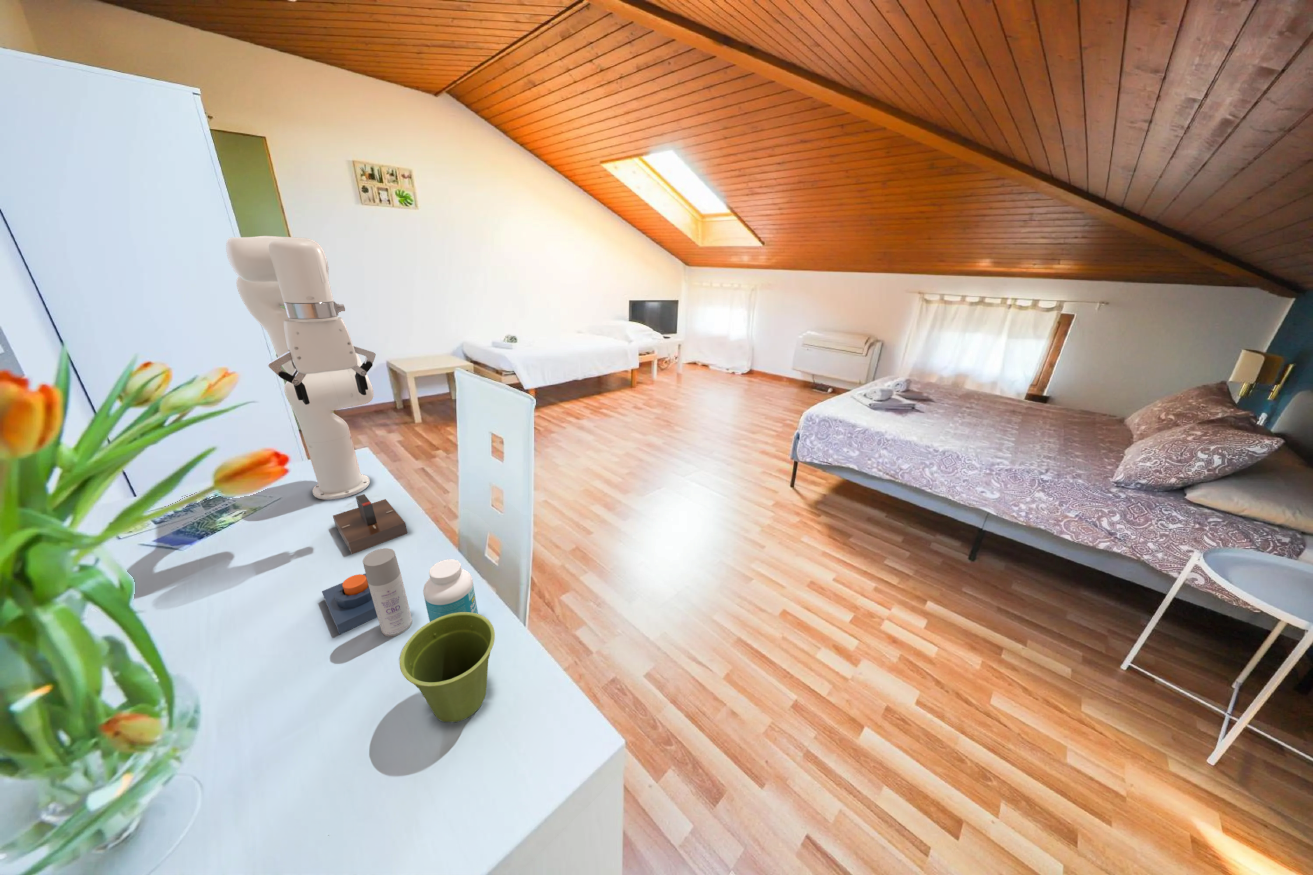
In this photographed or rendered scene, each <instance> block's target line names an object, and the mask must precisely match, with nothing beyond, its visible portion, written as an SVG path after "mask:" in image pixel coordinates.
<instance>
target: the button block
mask: <svg viewBox="0 0 1313 875" xmlns="http://www.w3.org/2000/svg"><path fill="white" fill-rule="evenodd" d="M362 575H365V576H366V573H365V572H364V573H362ZM366 578H367V577H366ZM367 582H368V581H367ZM342 584H343V582H341V583H338V584H336V585H333V586H331V587H329V588H326V589H323V590H322V591H321V593H322V596H323V598H324V602H325V604H326V606H327V609H328V611H329V614H330V616H331V618H332V620H333V623H334V625H335V628H336V630H337V632H338V634H339V635H342V634H344V633H347V632H349V631H351V630H353V629H355V628H357V627H359V626H361V625H363V624H366V623H367V622H370V621H372V620H375V619H376V618H378V617H377V613H376V610H375V606H374V603H373V599H372V596H371V593H370V589H369V585H368V587H367V589H365V590H364V591H363V592H361V593H358V594H356V595H350V596H349V595H346V594H345V592H344V589H343V586H342Z"/></svg>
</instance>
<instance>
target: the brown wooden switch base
mask: <svg viewBox="0 0 1313 875" xmlns="http://www.w3.org/2000/svg"><path fill="white" fill-rule="evenodd" d="M371 503H372V506H373V509H374V513H375V517H376V521H377V523H375V524H372V525H369V526H368V525H367V524H366V522H365V521H364V519H363V518H362V516H361V515H360V512H359V508H358V507H356V508H352V509H350V510H347V511H343V512H340V513H336V514H333V515H332V518H333V522H334V525H335V527H336V530H337V531H338V533H339V534H340V537H341V538H342V540H343V541H344V543H345V545H346V547H347V548H348V550H349V552H350V554H351V555H354V554H357V553H359V552H362V551H365V550H367V549H370V548H373V547H375V546H378V545H381V544H383V543H386V542H389V541H391V540H394V539H396V538H399V537H402V536H405V535H408V528H407V525H406V521H404V519H403V518H402V517H401V516H400V514H399V513H398V512H397V511H396V510H395V508H394V507H393V506H392V505H391V503H390V502H389V501H388V500H387V499H386V498H384V499H381V500H377V501H374V502H371Z"/></svg>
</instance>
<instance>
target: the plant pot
mask: <svg viewBox="0 0 1313 875" xmlns="http://www.w3.org/2000/svg"><path fill="white" fill-rule="evenodd" d="M495 640H496V630H495V628H494V625H493V623H492V622H491V621H490V619H488V618H487V617H485V616H484V615H482V614H480V613H478V614H476V613H471V612H458V613H452V614H448V615H445V616H442V617H439V618H437V619H435V620H433V621H431V622H430V621H429V622H427V623H426V624H424V625H423V626H421V627H420V628H419V629H417V630H416V631H415V632H414V634H412V635H411V636H410V637H409V638H408V640H407V642H406V643H405V644H404V646H403V648H402V650H401V653H400V656H399V669H400V673H401V674H402V676H403V677H404V679H405V680H406V681H408V682H410V683H411V684H413V685H414V686H415V687H416V688H417V689H419V691H420V694H422V696H423V698H424V700H425V701H426V703H427V704H428V706H429V708H430V710H431V711H432V712H433V714H434V716H435V717H436V718H437V719H438V720H439V721H441V722H443V723H458V722H462V721H463V720H466V719H468V718H469V717H471V716H472V715H474V714H475V713H476V712H477V711H478V710H479V709H480V708H481V706H482V705H483V703H484V700H485V699H486V695H487V687H488V685H487V684H488V673H489V672H488V670H489V659H490V655H491V652H492V649H493V647H494V644H495Z"/></svg>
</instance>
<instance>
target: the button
mask: <svg viewBox="0 0 1313 875" xmlns="http://www.w3.org/2000/svg"><path fill="white" fill-rule="evenodd" d="M342 583H343V584H342V586H343V589H344V592H345V594H346V595H349V596H350V595H356V594H358V593H361V592H363V591H364V590H365V589H367V587H368V582H367V578H366V576H365V575H363V573H361V574H360V573H359V574H355V575H354V574H353V575H351V576H349V577H347V578H346V579H345V580H344V581H343V582H342Z"/></svg>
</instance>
